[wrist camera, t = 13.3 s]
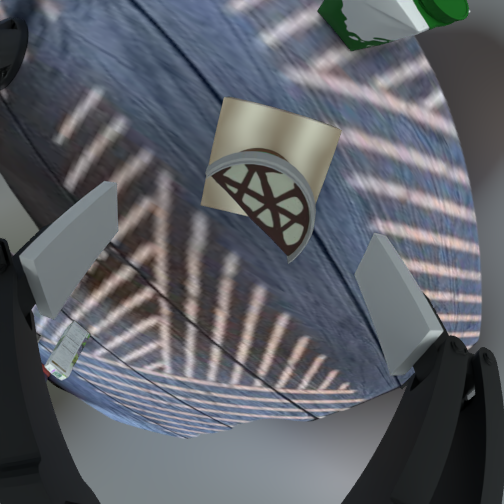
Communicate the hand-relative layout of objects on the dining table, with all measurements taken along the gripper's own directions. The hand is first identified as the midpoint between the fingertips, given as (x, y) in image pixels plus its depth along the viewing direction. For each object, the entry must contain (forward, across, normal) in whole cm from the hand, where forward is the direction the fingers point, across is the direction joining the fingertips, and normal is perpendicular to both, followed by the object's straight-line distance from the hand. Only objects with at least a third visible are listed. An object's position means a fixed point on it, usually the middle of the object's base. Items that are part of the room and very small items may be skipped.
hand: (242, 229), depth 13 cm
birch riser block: (+26, +2, -2) cm, 26 cm away
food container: (+21, +3, -2) cm, 21 cm away
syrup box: (+25, -36, -51) cm, 67 cm away
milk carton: (+25, +9, +20) cm, 34 cm away
